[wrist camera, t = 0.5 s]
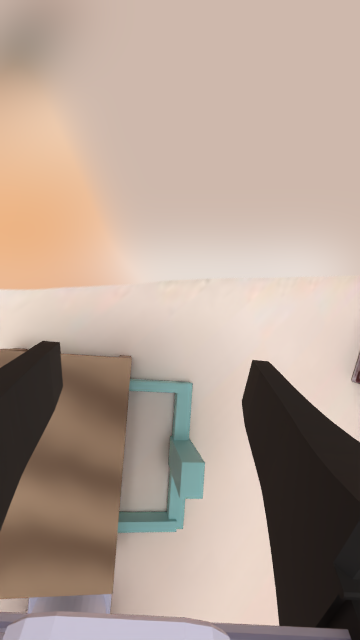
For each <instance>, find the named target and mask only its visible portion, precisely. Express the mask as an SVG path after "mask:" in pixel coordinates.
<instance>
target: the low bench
mask: <svg viewBox="0 0 360 640" xmlns="http://www.w3.org/2000/svg"><path fill="white" fill-rule="evenodd" d="M26 351H27V349H17V348H14V349H0V368H1V367H2V366H4V365H6V364H7V363H9V362H10V361H12V360H13V359H15V358H17V357H18V356H20V355H21V354H23V353H24V352H26ZM131 360H132V358H131V356H125V355H120V356H119V357H105V356H89V355H73V354H61V365H62V378H63V388H62V391H61V394H60V397H59V400H58V403H57V405H56V408H55V411H54V413H53V415H52V417H51V419H50V421H49V423H48V425H47V427H46V429H45V430H44V432H43V434H42V436H41V438H40V440H39V442H38V444H37V446H36V448H35V450H34V452H33V454H32V456H31V458H30V459H29V461H28V463H27V465H26V468H25V470H24V472H23V474H22V476H21V479H20V481H19V484H18V486H17V489H16V491H15V494H14V496H13V499H12V501H11V504H10V507H9V509H8V512H7V515H6V517H5V520H4V523H3V525H2V528H1V531H0V599H11V598H33V597H55V596H77V595H99V594H112V592H113V580H114V568H115V556H116V543H117V531H118V519H119V507H120V494H121V482H122V470H123V458H124V446H125V433H126V421H127V409H128V397H129V384H130V372H131Z"/></svg>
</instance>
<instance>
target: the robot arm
mask: <svg viewBox="0 0 360 640" xmlns="http://www.w3.org/2000/svg"><path fill="white" fill-rule="evenodd" d="M62 388H63V378H62V365H61V352H60V342H49V341H42V342H40V343H38V344H37V345H35V346H34V347H32V348H31V349H29V350H27V351H26V352H24V353H23V354H21V355H20V356H18V357H17V358H15V359H13V360H12V361H10V362H9V363H7V364H6V365H4V366H2V367H1V368H0V531H1V528H2V525H3V523H4V520H5V517H6V515H7V512H8V509H9V507H10V504H11V501H12V499H13V496H14V494H15V491H16V489H17V486H18V484H19V481H20V479H21V476H22V474H23V472H24V470H25V468H26V465H27V463H28V461H29V459H30V458H31V456H32V454H33V452H34V450H35V448H36V446H37V444H38V442H39V440H40V438H41V436H42V434H43V432H44V430H45V429H46V427H47V425H48V423H49V421H50V419H51V417H52V415H53V413H54V411H55V408H56V405H57V403H58V400H59V397H60V394H61V391H62ZM242 407H243V416H244V423H245V428H246V432H247V436H248V440H249V444H250V447H251V451H252V455H253V459H254V462H255V466H256V470H257V473H258V477H259V481H260V485H261V490H262V495H263V501H264V507H265V513H266V519H267V526H268V533H269V540H270V547H271V554H272V562H273V570H274V579H275V587H276V596H277V606H278V616H279V626H270V625H250V624H230V623H210V622H207V621H201V620H195V619H190V618H184V617H164V616H144V615H125V614H110V607H111V595H112V594H99V595H77V596H55V597H33V598H29V604H28V613H11V612H0V640H360V442H359V441H357V440H356V439H354V438H353V437H352V436H350V435H349V434H348V433H346V432H345V431H344V430H342V429H341V428H340V427H338V426H337V425H336V424H334V423H333V422H332V421H331V420H329V419H328V418H327V417H326V416H325V415H324V414H322V413H321V412H320V411H319V410H318V409H317V408H316V407H314V406H313V405H312V404H311V403H310V402H309V401H308V400H307V399H306V398H305V397H304V396H303V395H301V394H300V393H299V392H298V391H297V390H296V389H295V388H294V387H293V386H292V385H291V384H290V383H289V382H288V381H287V380H286V379H285V378H284V376H283V375H282V374H281V373H280V372H279V371H278V370H277V369H276V368H275V367H274V366H273V365H272V364H271V363H269V362H268V361H257V360H252V364H251V368H250V372H249V376H248V379H247V383H246V387H245V391H244V395H243V399H242Z"/></svg>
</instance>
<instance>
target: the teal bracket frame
mask: <svg viewBox="0 0 360 640" xmlns="http://www.w3.org/2000/svg"><path fill="white" fill-rule="evenodd" d="M192 385H193V384H192V383H191V382H180V381H162V380H143V379H130V384H129V391H146V392H167V393H175V403H174V417H173V431H172V436H170V448H169V462H168V464H169V467H170V474H169V488H168V502H167V512H119V519H118V531H117V533H131V532H176V529H183V521H184V506H185V499H203V484H204V468H205V462H204V461H203V459H202V458H201V456H200V454H199V453H198V451H197V450H196V448H195V447H194V445H193V443H192V442H191V440H190V439H189V431H190V415H191V400H192Z"/></svg>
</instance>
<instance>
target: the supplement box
mask: <svg viewBox="0 0 360 640" xmlns="http://www.w3.org/2000/svg"><path fill="white" fill-rule="evenodd" d="M352 381H353V382H356V383H359V384H360V355H359V359H358V362H357V365H356V368H355V371H354V374H353V377H352Z"/></svg>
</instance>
